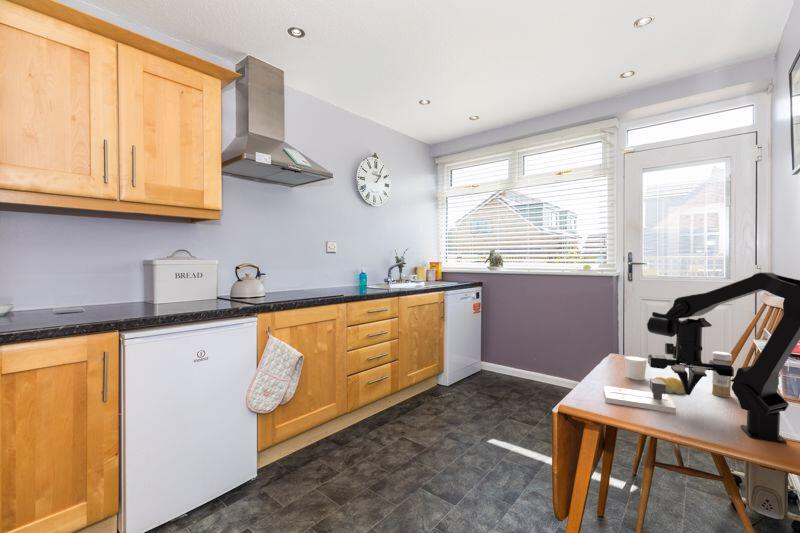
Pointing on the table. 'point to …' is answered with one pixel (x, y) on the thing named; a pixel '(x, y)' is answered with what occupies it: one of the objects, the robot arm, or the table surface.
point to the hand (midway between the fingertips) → (687, 394)
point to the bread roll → (672, 385)
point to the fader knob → (657, 388)
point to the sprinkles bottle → (721, 382)
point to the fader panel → (638, 399)
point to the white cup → (635, 367)
